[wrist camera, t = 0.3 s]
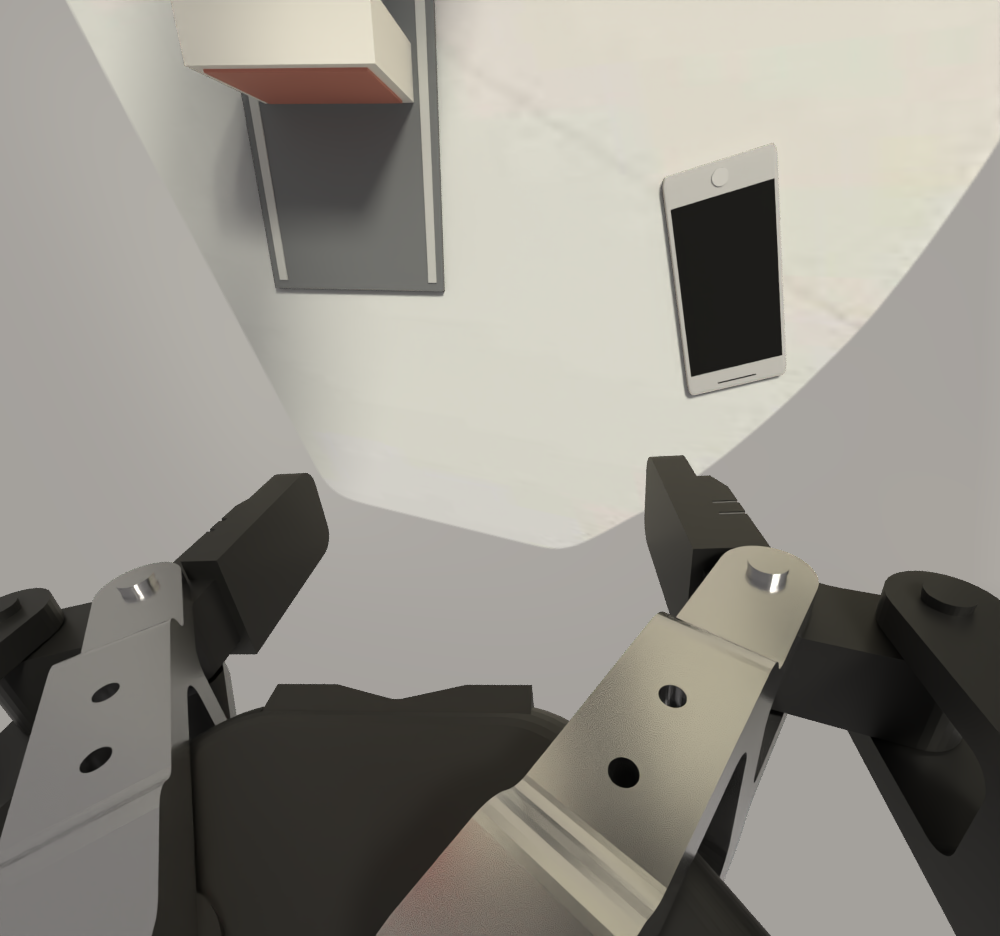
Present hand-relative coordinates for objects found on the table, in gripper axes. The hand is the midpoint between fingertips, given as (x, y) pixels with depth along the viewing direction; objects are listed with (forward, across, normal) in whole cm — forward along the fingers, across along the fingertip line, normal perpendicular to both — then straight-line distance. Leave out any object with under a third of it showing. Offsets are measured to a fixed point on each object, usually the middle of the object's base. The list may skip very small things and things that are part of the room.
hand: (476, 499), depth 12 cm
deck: (+24, +11, -16) cm, 31 cm away
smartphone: (+29, -15, -1) cm, 33 cm away
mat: (+28, +11, -13) cm, 33 cm away
